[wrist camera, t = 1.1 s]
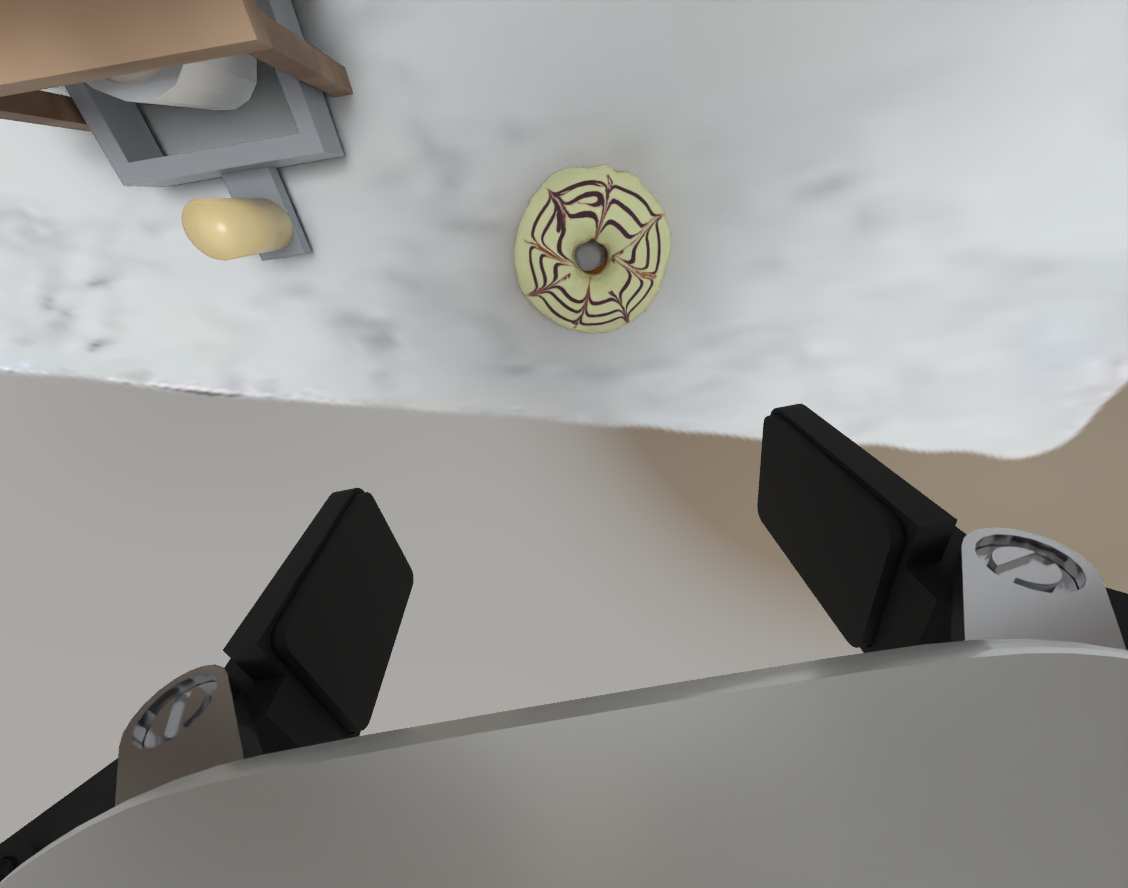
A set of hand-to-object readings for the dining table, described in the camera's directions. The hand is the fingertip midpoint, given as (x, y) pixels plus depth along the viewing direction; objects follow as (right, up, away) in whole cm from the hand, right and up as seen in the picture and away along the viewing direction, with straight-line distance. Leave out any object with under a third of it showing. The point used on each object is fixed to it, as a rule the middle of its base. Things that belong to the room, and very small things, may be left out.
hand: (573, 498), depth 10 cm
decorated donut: (+2, +16, +21) cm, 26 cm away
